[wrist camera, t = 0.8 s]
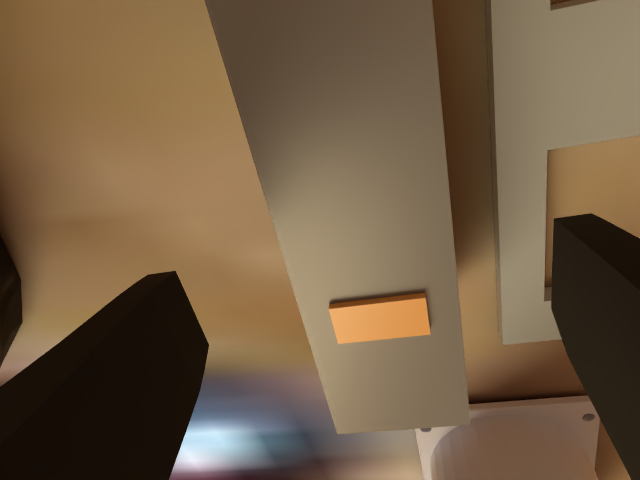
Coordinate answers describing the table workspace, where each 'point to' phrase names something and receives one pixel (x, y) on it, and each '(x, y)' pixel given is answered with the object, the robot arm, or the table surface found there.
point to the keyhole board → (549, 127)
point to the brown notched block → (357, 196)
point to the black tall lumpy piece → (8, 301)
